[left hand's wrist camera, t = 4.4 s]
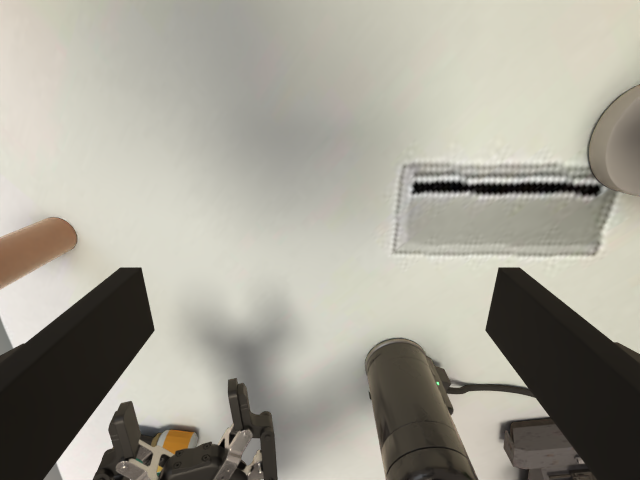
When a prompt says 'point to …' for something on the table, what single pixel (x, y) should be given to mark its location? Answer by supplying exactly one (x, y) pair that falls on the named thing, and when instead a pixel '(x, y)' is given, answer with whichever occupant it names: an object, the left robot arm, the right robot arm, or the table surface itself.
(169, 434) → the spray gun
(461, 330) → the table surface
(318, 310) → the table surface
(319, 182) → the table surface
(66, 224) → the bottle
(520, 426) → the toy
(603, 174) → the bust sculpture
